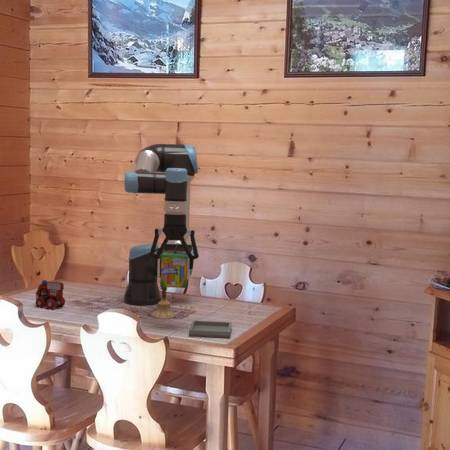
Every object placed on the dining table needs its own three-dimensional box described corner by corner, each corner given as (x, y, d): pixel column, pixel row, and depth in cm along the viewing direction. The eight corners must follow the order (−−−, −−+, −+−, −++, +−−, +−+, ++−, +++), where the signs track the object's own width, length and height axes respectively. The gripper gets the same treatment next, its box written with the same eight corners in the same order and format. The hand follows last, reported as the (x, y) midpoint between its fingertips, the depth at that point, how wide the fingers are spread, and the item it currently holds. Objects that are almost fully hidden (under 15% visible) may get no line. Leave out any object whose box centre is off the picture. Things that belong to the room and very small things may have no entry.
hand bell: (175, 319, 251) (176, 276, 249) (152, 319, 249) (153, 276, 248) (173, 314, 259) (174, 272, 257) (151, 314, 258) (152, 272, 256)
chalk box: (160, 282, 241) (161, 241, 239) (186, 283, 241) (187, 241, 240) (159, 287, 232) (160, 244, 230) (186, 288, 232) (188, 245, 231)
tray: (188, 336, 227) (189, 330, 227) (192, 326, 240) (193, 320, 240) (229, 338, 226) (230, 331, 226) (231, 328, 240) (231, 322, 240)
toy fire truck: (43, 303, 269) (43, 277, 268) (68, 307, 264) (68, 281, 263) (31, 306, 263) (31, 280, 262) (56, 310, 257) (56, 283, 256)
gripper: (141, 212, 231) (139, 278, 233) (206, 215, 230) (204, 281, 232) (145, 211, 238) (143, 274, 241) (208, 213, 237) (206, 277, 239)
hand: (173, 277), depth 236 cm, fingers closed on chalk box, 9 cm apart
